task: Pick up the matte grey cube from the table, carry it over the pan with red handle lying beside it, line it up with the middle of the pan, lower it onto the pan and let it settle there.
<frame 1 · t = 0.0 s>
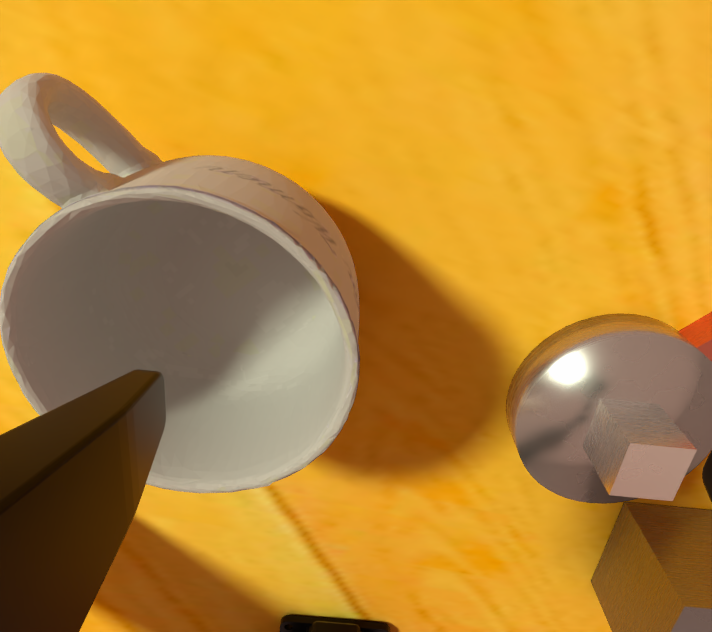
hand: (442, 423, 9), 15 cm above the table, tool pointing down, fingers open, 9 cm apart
teacup: (220, 234, 23), on the table
matte grey cube: (660, 548, 30), on the table
pan with red handle: (602, 399, 26), on the table
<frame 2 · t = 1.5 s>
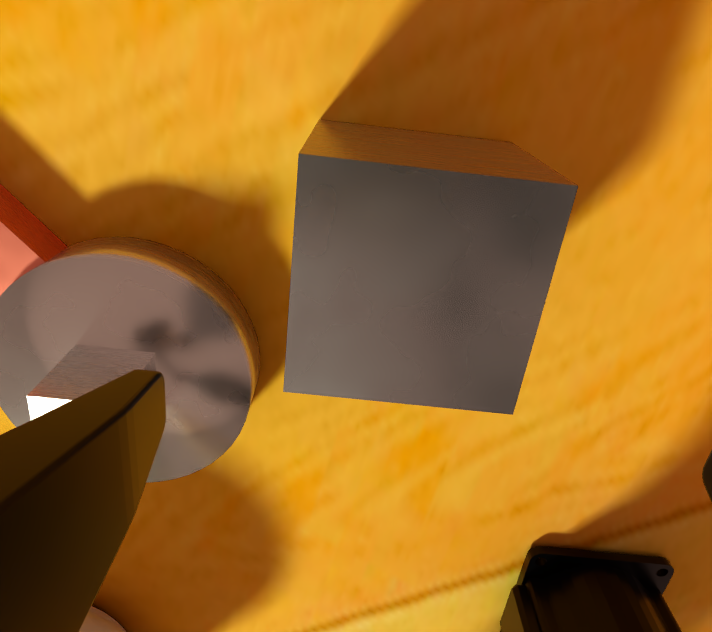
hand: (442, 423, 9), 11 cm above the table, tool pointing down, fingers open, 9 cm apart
matte grey cube: (401, 224, 18), on the table
pan with red handle: (139, 352, 21), on the table
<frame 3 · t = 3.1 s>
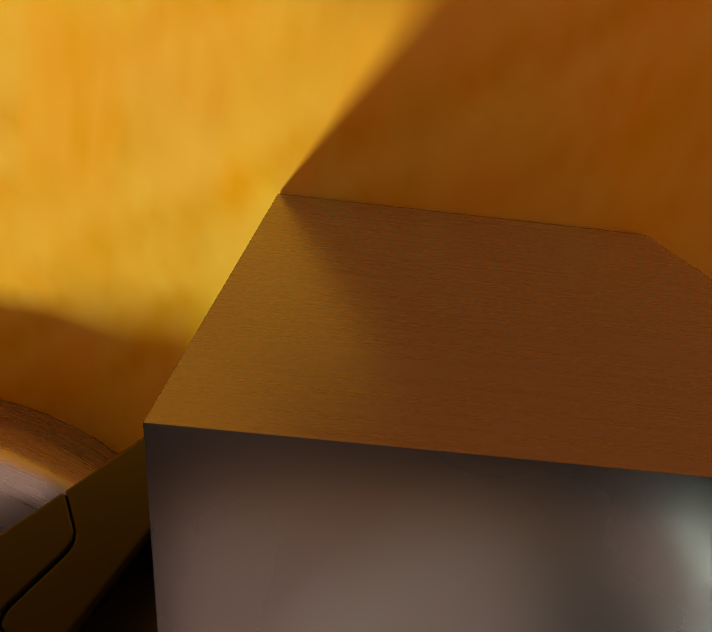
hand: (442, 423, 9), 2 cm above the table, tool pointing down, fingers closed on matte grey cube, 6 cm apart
matte grey cube: (432, 372, 10), on the table, touching gripper
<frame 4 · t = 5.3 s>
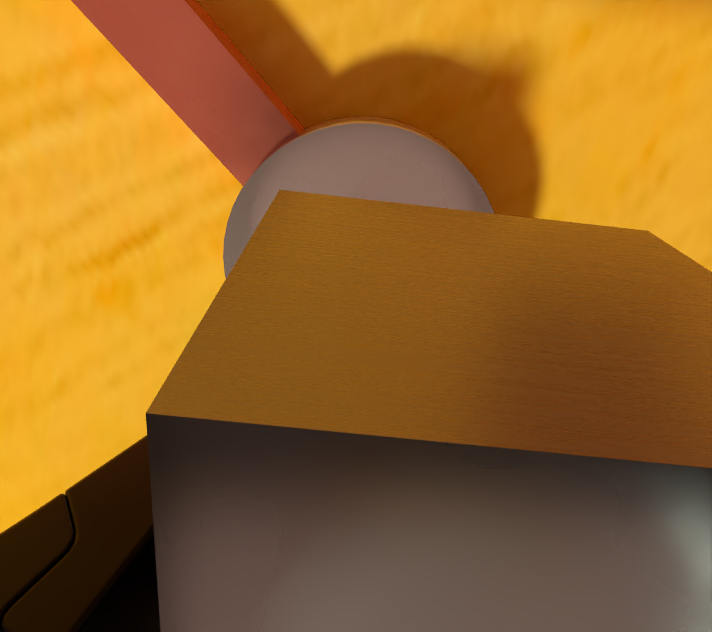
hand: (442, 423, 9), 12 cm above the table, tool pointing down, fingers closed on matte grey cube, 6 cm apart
matte grey cube: (434, 369, 10), point 10 cm above the table, touching gripper
pan with red handle: (362, 248, 20), on the table
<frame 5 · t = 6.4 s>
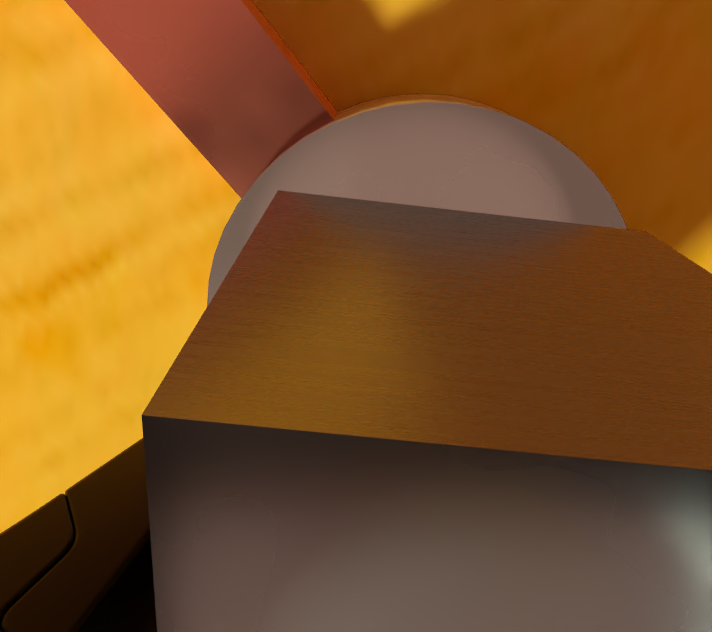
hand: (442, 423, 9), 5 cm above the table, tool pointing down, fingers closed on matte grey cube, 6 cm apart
matte grey cube: (432, 370, 10), point 4 cm above the table, touching gripper
pan with red handle: (412, 290, 14), on the table
when the fingers open (4 cm above the table, at t = 7.4 s): matte grey cube stays where it is, resting on pan with red handle.
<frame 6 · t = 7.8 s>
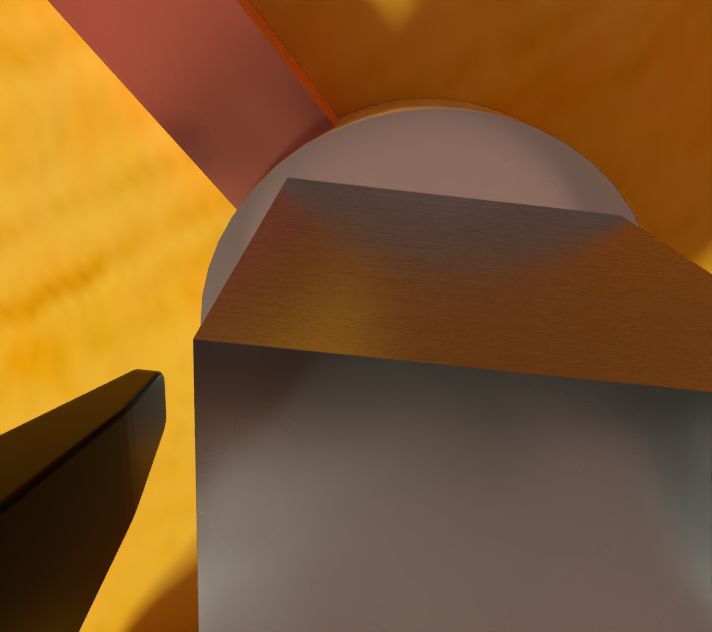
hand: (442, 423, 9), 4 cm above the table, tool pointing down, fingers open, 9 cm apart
matte grey cube: (428, 344, 11), point 2 cm above the table, touching pan with red handle
pan with red handle: (416, 304, 13), on the table, touching matte grey cube
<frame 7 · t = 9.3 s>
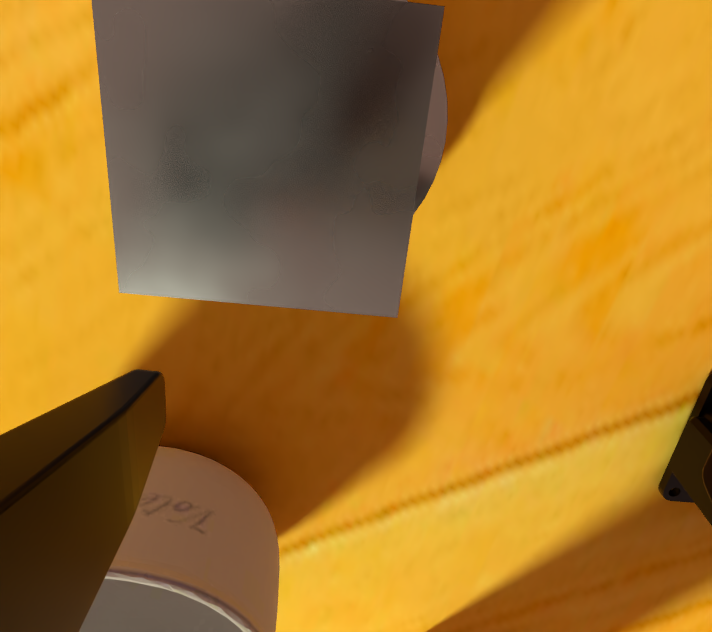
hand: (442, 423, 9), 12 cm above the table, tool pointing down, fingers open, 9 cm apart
teacup: (147, 510, 26), on the table
matte grey cube: (293, 123, 16), point 2 cm above the table, touching pan with red handle
pan with red handle: (298, 116, 18), on the table, touching matte grey cube
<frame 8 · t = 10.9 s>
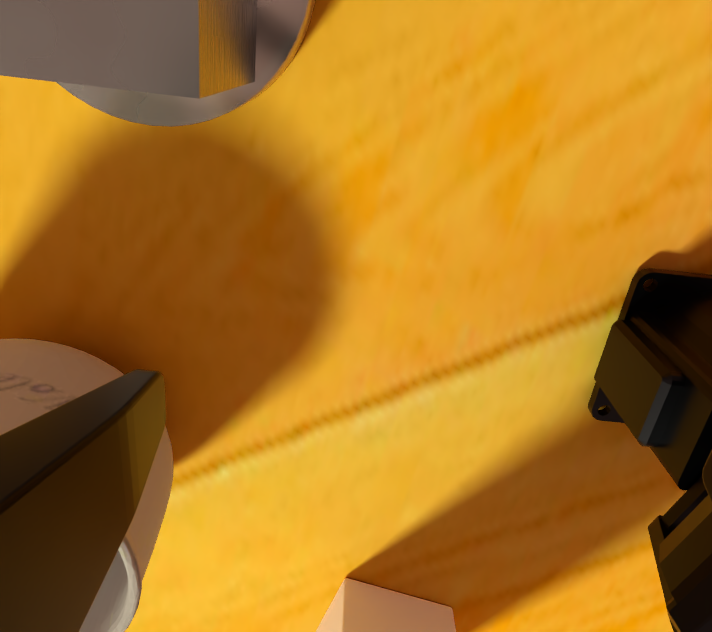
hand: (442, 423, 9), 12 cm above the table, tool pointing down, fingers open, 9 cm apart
teacup: (45, 425, 24), on the table
milk: (377, 623, 30), on the table
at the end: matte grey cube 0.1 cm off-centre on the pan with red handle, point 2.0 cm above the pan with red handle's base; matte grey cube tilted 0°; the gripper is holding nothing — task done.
